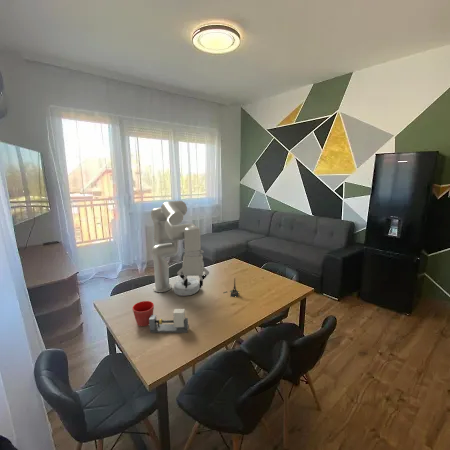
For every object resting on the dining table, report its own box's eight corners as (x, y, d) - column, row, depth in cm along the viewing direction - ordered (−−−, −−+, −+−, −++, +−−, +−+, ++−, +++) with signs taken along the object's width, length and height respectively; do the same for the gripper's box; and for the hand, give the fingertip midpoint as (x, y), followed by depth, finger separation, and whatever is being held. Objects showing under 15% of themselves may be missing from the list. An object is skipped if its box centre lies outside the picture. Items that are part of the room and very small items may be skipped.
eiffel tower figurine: (248, 297, 160) (249, 278, 157) (237, 302, 154) (237, 282, 151) (233, 289, 171) (233, 271, 168) (222, 293, 165) (222, 275, 162)
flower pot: (137, 331, 125) (136, 314, 123) (131, 320, 133) (130, 304, 131) (157, 323, 131) (156, 307, 129) (150, 314, 139) (149, 298, 137)
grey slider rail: (149, 332, 123) (148, 320, 122) (152, 326, 129) (151, 313, 127) (187, 332, 124) (186, 320, 122) (188, 326, 129) (188, 314, 128)
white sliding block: (173, 326, 124) (173, 312, 122) (175, 322, 127) (174, 308, 126) (183, 326, 124) (183, 312, 122) (184, 322, 127) (184, 309, 126)
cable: (202, 285, 176) (201, 277, 175) (196, 297, 159) (196, 289, 158) (178, 284, 178) (177, 276, 176) (170, 296, 161) (170, 287, 159)
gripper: (211, 250, 121) (211, 283, 125) (176, 250, 121) (177, 283, 125) (210, 255, 114) (210, 290, 118) (173, 255, 114) (174, 290, 118)
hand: (193, 286), depth 121 cm, fingers open, 6 cm apart
